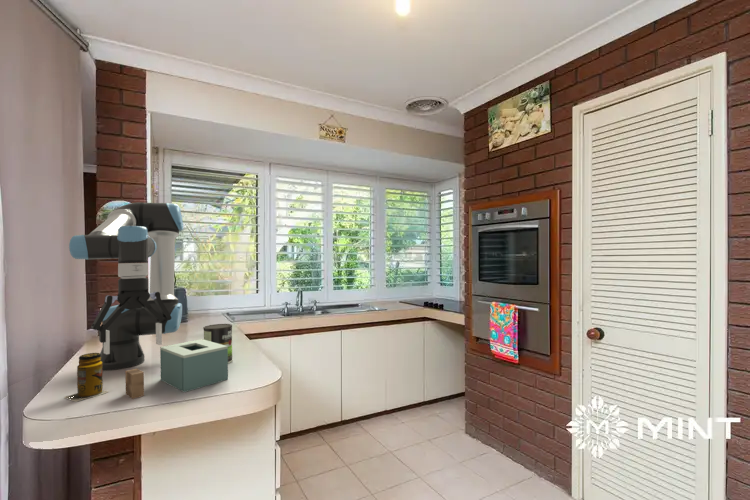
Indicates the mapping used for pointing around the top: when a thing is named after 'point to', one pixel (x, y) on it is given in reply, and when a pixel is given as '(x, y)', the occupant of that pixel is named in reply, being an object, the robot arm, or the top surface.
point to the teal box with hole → (194, 364)
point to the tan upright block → (134, 383)
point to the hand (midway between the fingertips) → (134, 348)
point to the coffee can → (220, 336)
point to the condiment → (88, 377)
